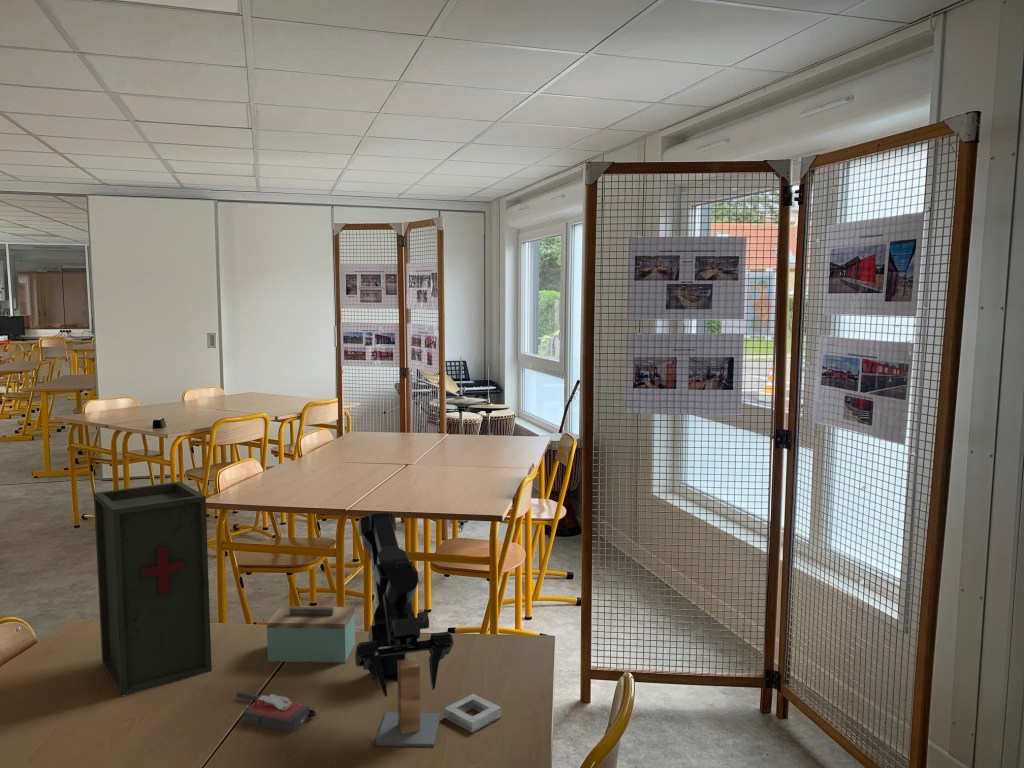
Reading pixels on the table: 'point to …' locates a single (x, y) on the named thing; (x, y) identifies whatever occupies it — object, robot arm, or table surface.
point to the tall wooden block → (408, 695)
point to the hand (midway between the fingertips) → (409, 692)
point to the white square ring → (486, 716)
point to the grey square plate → (393, 736)
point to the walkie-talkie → (275, 712)
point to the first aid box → (153, 584)
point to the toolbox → (311, 634)
